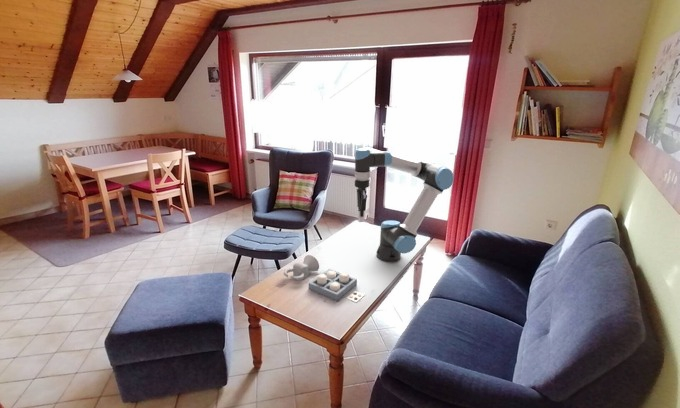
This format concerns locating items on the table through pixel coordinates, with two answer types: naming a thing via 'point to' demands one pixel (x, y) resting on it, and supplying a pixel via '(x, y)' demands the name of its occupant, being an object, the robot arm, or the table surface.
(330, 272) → the button
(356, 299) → the card
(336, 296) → the button board
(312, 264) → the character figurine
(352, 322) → the table surface
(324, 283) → the button
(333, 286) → the button
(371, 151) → the robot arm
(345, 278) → the button
